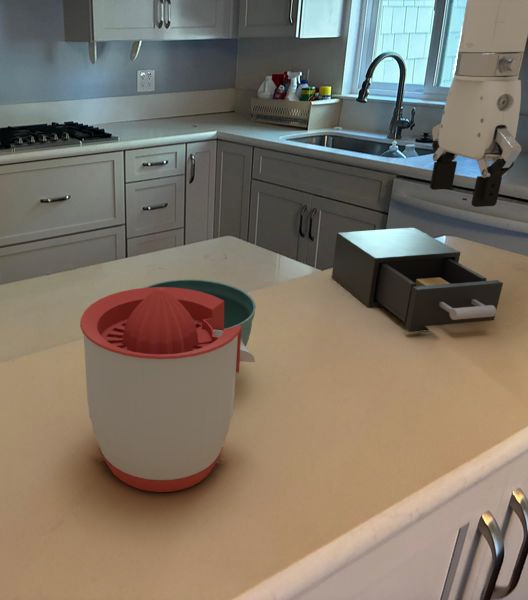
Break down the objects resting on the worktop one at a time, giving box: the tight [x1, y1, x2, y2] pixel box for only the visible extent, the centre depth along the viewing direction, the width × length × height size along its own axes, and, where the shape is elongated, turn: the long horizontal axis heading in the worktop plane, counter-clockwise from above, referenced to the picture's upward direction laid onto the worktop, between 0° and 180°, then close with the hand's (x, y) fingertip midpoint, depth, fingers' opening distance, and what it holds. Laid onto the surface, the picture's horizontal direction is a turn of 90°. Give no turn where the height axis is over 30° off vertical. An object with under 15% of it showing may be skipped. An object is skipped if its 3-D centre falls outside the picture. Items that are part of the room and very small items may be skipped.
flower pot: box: [143, 278, 257, 348], centre depth 80 cm, size 16×16×11 cm
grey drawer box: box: [331, 227, 462, 309], centre depth 106 cm, size 14×15×9 cm
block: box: [416, 277, 450, 287], centre depth 95 cm, size 4×4×4 cm
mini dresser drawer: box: [374, 257, 504, 333], centre depth 93 cm, size 17×13×7 cm
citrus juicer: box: [79, 287, 256, 493], centre depth 63 cm, size 16×17×20 cm
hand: (460, 196), depth 87 cm, fingers open, 9 cm apart
